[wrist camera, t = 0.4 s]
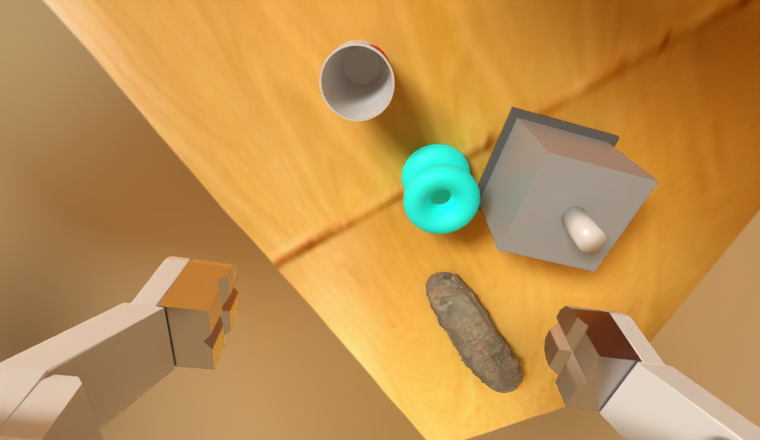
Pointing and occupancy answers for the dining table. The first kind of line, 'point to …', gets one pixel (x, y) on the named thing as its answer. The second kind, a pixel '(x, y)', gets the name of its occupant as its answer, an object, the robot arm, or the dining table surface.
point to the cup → (357, 81)
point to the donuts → (439, 189)
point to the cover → (561, 195)
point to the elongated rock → (473, 332)
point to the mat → (539, 119)
